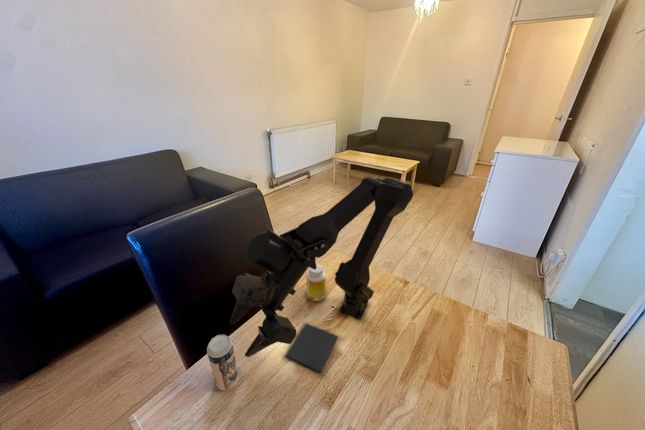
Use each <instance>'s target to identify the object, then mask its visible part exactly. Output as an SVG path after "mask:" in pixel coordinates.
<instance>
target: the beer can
mask: <svg viewBox="0 0 645 430" xmlns="http://www.w3.org/2000/svg"><path fill="white" fill-rule="evenodd" d="M233 343H234V342H233V339H232V338H231V337H230V336H228V335H226V334H217V335H215V336H214V337H212V338H211V339H210V341H209V343H208V345H207V347H206V353H207V357H208V360H209V363H210V368H211V370H212V374H213V375H212V376H213V378H214V381H215V385H216V386H215V387H217V389H219V390H220V391H229V390H231V389H233V388H234V387H235V386H236V385H237V383H238V382H239V380H240V372H239V368H238V363H237V359H236V355H235V349H234V345H233Z"/></svg>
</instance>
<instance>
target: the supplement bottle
mask: <svg viewBox="0 0 645 430" xmlns="http://www.w3.org/2000/svg"><path fill="white" fill-rule="evenodd" d="M326 278H327V277H326V272H325V271H324V267H323V265H321V264H318V263H316V269H315V270H314V269H312V268H310V267H309V268H308V271H307V272H306V296H307V298H308V299H309V300H310V301H312V302H313V301H314V302H319V301H321V300H323V299H324V298H325V296H326V282H327V281H326V280H327V279H326Z"/></svg>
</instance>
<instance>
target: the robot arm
mask: <svg viewBox="0 0 645 430" xmlns="http://www.w3.org/2000/svg"><path fill="white" fill-rule="evenodd" d="M413 191H414V190H413V188H412V185H411V184H409V183H407V182H404V181H401V180H398V179H395V178H392V177H389V176H388V177H385V178H382V179H381V178H378V177H371V176H368V177H367V176H366V177H365V178H362V180H361V181H360V183H359V184H358V185H357V186H356V187H354V189H352V190H351V191H350V192H349V193H347V195H346V196H344V197H342V199H340V200H339V201H338V202H336V204H334V205H333V206H332V207H331V208H330V209H329V210H327V211H326V212H325V213H323V214H318V215H315V216H312V217H310V218H308V219H306V220H305V221H303V222H302V223H300V224H299V225H298V226H297V227H295V228H293V229H290V230H288V231H286V232H284V233H281V234H280V235H278V234H277V233H276V232H275V231H273V230H271V229H267V230H266V232H265V233H260V234H258V235H256V236H255V237H253V238H251V240H250V241H249V243H248V246H247V248H246V252H245V257H246V260H247V261H248V262H249V263H251V264H252V265H253V264H254V265H256V266H258V267H260V268H263V269H264V270H266V271H264V272H263V273H262V275H260V276H257V275H253V274H250V273H248V272H243V273H240V274H238V275H237V276H236V278H235V280H234V283H233V286H232V289H231V294H233V295H234V297H235V300H236V302H235V306H234V307H233V310H232V314H231V318H230V320H229V324H230V325H235V324H236V323H237V322H238V321H240V320H241V319H242V318H243V317H244V316H245V315H246V314H247V313H248V312H249V311H250V310H251V309H252V308H253V307H259V308H260V310H261V311H262V312H263V314H264V316H265V318H264V319H263V320H262V324H261V325H257V326H258V327H257V328H258V334H257V336H256V337H255V338H254V339H253V341H252V343H251V344H250V345H249V347H248V348H247V350H246V351H245V353H244V357H246V358H250V357H252V356H254V355H256V354H257V353H260V352H261V351H262V350H264V349H266V348H267V347H270V346H272V345H274V344H276V343H281V344H285V345H286V344H287V345H291V344H292V343H293V341H295V339H296V337H297V328H296V327H295V326H294V324H293V323H292V322H291V320H290V319H289V318H288V317H286V316H282V315H279V314H278V313H277V311H278V312H282V311H283V310H284V309H285V307H284V304H283V303H284V302H285V300H286V299H287V298H288V296H289V295H291V296H294V295H295V293H296V292H297V291H296V289H295V287H296V285H297V284H298V283H299V281H300V280H301V278H302V277H303V276H304V274H305V273H306V271H307V270H309V269H310V268H312V269H314V270H315V269H316V264H317V263H316V259H317V258H319V259H320V258H322V257H324V256H325V255H326V254H327V253H328V252H329V250H331V248H332V247H334V245H335V244H336V243H337V241H338V236H339V234H340V233H341V231H342V230H343V229H344V228H345V227H347V225H349V224H350V223H351V222H352V221H353V220H354V219H355V218H356V217H357V216H359V215H360V214H361V213H363V211H364V210H366V209H367V208H368V207H369V206H370V205H371V204H372V203H373V202H374V211H373V213H372V215H371V217H370V219H369V221H368V223H367V226H366V228H365V230H364V232H363V234H362V236H361V238H360V240H359V242H358V244H357V246H356V249H355V250H354V253H353V255H352V257H351V259H349V260H347V261H346V262H344V261H343V262H341V263H339V266H338V268H337V270H336V272H335V273H334V276H335V277H334V281H335V284H336V285H337V286H338V287H339V288H340V289H341V290H342V291H343V292H344V297H343V302H342V304H341V306H340V308H339V313H340V314H343V315H346V316H349V317H352V318H354V319H357V320H359V321H361V320H362V319H363V316H364V314H365V311H366V309H367V307H368V303H369V300H371V299H372V298H373V295H374V293H375V290H373V289H372V288H371V287H369V286H368V285H369V283H370V280H371V276H370V275H371V274H370V266H371V264H372V262H373V261H374V258H375V257H376V254H377V252H378V250H379V248H380V246H381V244H382V242H383V239H384V238H385V236H386V233H387V232H388V230H389V227H390V226H391V223H392V221H393V219H394V218H395V217H397V216H398V215H400V214H402V213H403V212H404V211H405V210H406V209H407V207H408V206H409V204H410V202H411V201H412V200H413V197H414V192H413Z"/></svg>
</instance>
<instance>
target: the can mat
mask: <svg viewBox="0 0 645 430" xmlns="http://www.w3.org/2000/svg"><path fill="white" fill-rule="evenodd" d="M338 338H339V337H338V335H336V334H333V333H330V332H328V331H325V330H323V329H320V328H318V327H316V326H314V325H310V324H308V323H306V324H305V325H304V326H303V328H302V330H301V331H300V333H299V335H298V336H297V338H295V340H294V343H293V344H292V346H291V347H290V349H289V350H288V352H287V354H286V355H285V357H286V358H288V359H290V360H292V361H294V362H296V363H299V364H301V365H303V366H305V367H307V368H309V369H311V370H313V371H315V372H317V373H320V374H322V372H323V370H324V367H325V365H326V364H327V361H328V360H329V357H330V355H331V353H332V351H333V349H334V347H335V344H336V342H337V341H338Z"/></svg>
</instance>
